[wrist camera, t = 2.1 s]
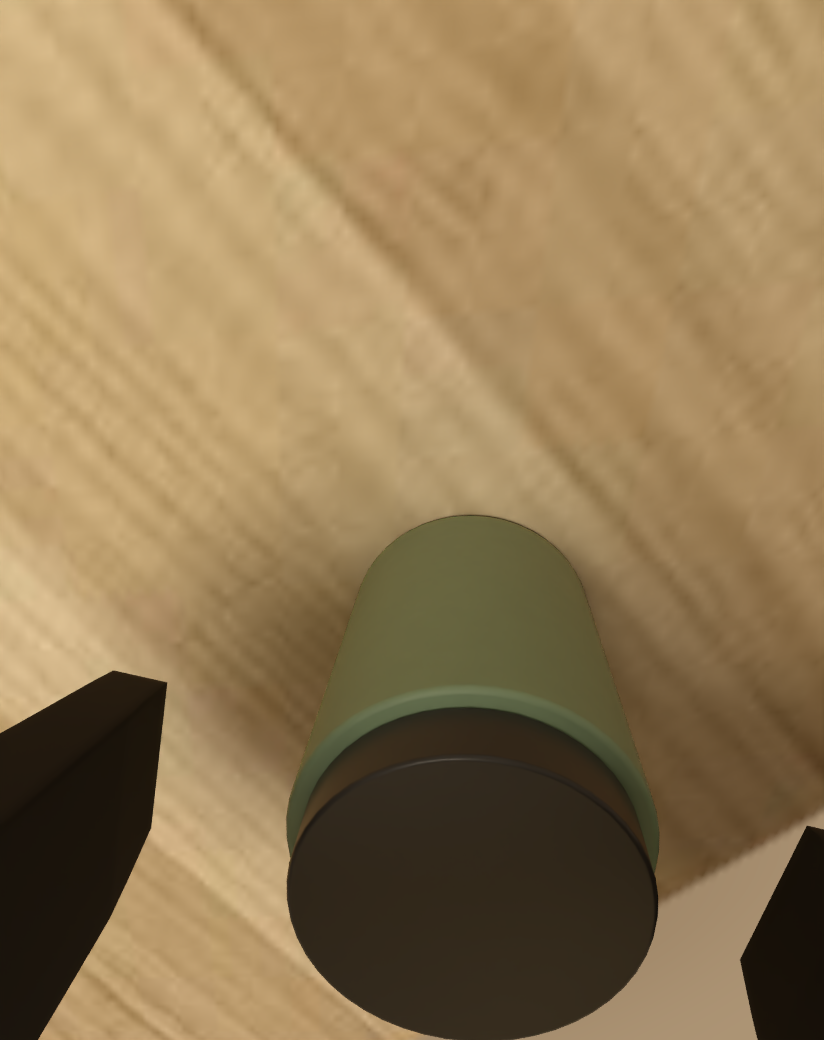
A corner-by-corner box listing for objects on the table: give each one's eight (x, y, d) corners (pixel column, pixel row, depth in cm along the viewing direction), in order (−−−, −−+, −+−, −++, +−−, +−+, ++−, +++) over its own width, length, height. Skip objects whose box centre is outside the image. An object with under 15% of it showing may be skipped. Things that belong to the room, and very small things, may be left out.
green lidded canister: (621, 548, 12) (749, 801, 7) (547, 745, 14) (601, 1095, 8) (383, 487, 12) (307, 689, 7) (334, 691, 14) (236, 1004, 8)
